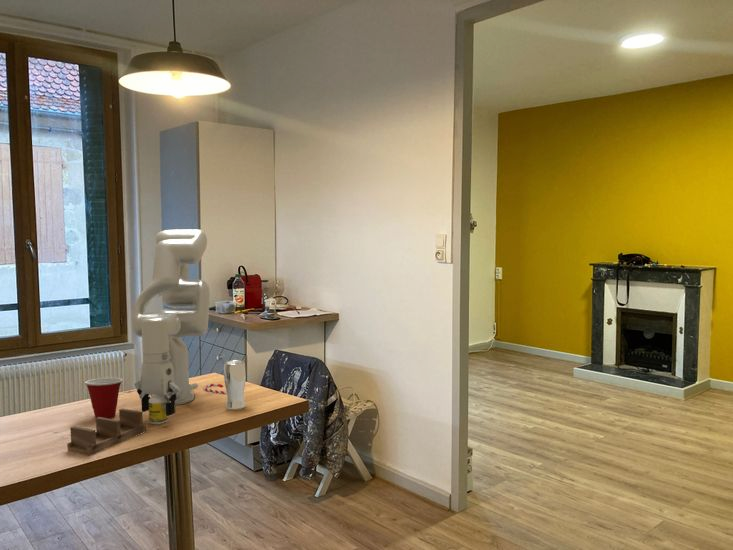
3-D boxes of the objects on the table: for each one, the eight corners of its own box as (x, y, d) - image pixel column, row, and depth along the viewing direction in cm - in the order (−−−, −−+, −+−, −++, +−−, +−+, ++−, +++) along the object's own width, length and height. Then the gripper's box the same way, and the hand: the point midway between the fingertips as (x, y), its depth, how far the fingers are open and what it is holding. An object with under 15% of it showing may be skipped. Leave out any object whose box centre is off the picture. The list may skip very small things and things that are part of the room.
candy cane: (221, 394, 208) (198, 386, 218) (222, 397, 208) (198, 389, 218) (240, 389, 213) (216, 382, 223) (240, 393, 213) (216, 385, 223)
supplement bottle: (145, 423, 180) (144, 391, 179) (157, 417, 185) (156, 387, 184) (159, 425, 178) (158, 393, 177) (171, 419, 183) (170, 388, 182)
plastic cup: (131, 412, 191) (129, 375, 190) (111, 423, 181) (109, 384, 180) (100, 410, 193) (99, 374, 192) (79, 421, 183) (77, 383, 182)
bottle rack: (126, 427, 177) (125, 407, 176) (146, 431, 173) (145, 410, 173) (67, 451, 158) (66, 428, 158) (89, 456, 155) (87, 433, 155)
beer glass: (239, 411, 191) (238, 365, 190) (220, 409, 193) (219, 364, 192) (250, 405, 197) (249, 360, 196) (232, 403, 200) (230, 359, 198)
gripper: (187, 357, 180) (189, 412, 181) (144, 352, 187) (146, 405, 188) (169, 362, 173) (171, 420, 174) (125, 357, 180) (127, 412, 182)
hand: (158, 412), depth 181 cm, fingers open, 9 cm apart
